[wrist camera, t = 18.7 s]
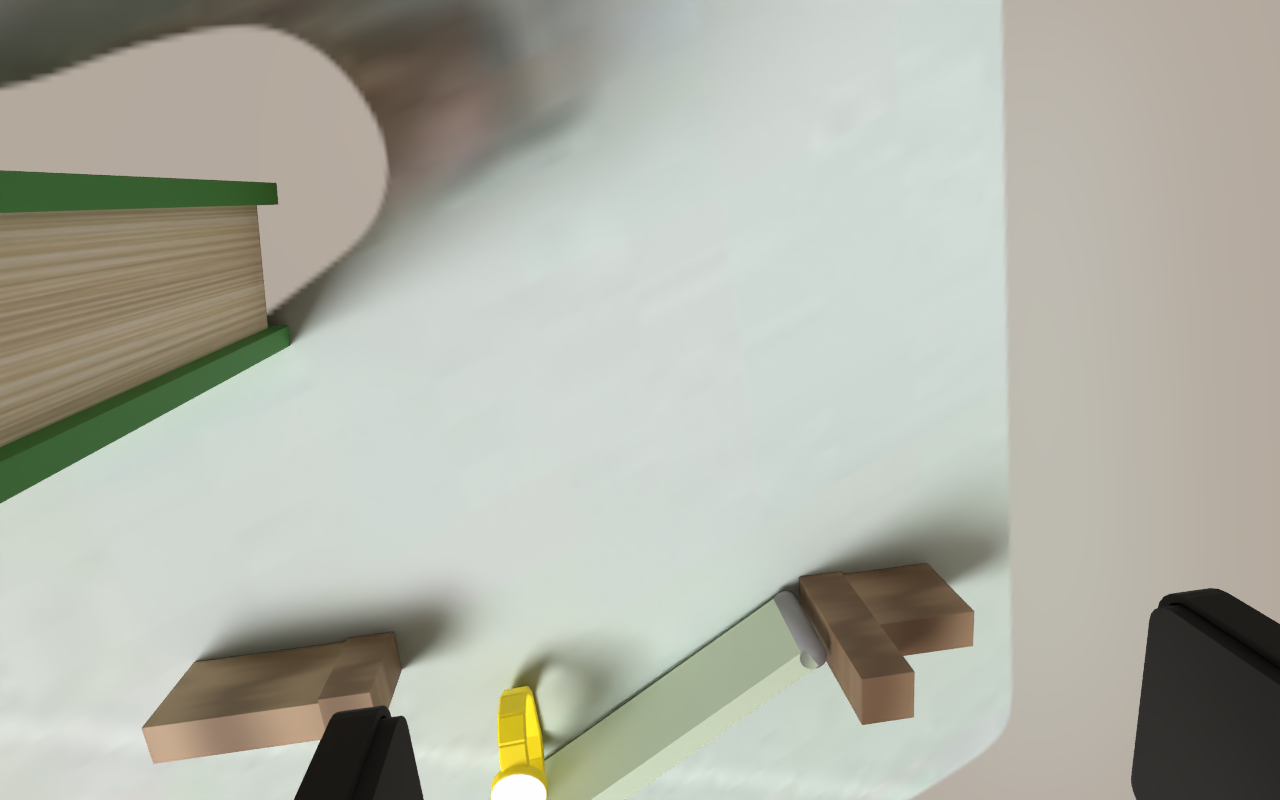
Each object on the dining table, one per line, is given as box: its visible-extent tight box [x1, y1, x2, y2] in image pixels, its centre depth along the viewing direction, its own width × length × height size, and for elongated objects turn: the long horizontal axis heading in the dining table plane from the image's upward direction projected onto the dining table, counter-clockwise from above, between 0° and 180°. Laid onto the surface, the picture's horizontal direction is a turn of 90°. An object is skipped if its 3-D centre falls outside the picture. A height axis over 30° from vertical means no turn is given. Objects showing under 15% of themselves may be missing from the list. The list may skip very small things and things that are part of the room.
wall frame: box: [142, 563, 974, 764], centre depth 36 cm, size 40×2×9 cm, turn 95°
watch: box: [491, 686, 548, 800], centre depth 39 cm, size 6×3×6 cm, turn 8°
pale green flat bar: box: [544, 591, 828, 800], centre depth 39 cm, size 22×2×5 cm, turn 127°
